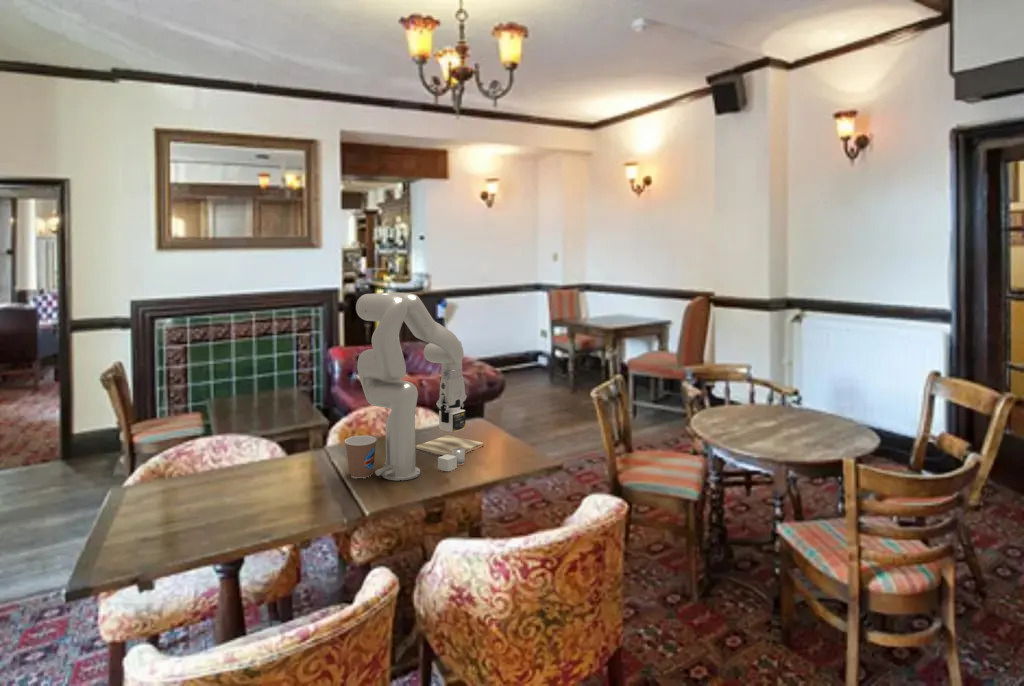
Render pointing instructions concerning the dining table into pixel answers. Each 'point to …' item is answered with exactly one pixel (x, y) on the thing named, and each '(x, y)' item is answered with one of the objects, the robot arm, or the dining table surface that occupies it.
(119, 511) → the dining table surface
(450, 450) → the birch board
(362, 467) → the coffee cup
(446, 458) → the white cube
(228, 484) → the dining table surface
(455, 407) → the medicine bottle
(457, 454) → the metal canister
